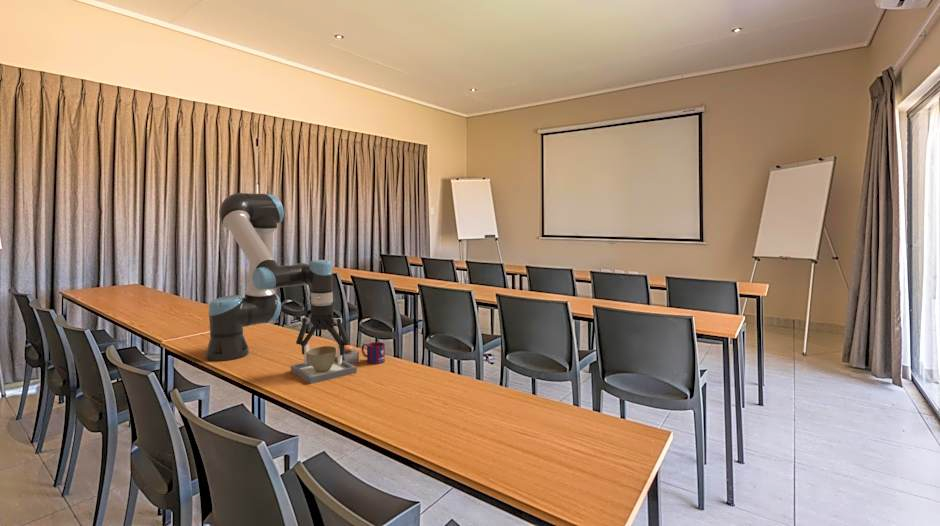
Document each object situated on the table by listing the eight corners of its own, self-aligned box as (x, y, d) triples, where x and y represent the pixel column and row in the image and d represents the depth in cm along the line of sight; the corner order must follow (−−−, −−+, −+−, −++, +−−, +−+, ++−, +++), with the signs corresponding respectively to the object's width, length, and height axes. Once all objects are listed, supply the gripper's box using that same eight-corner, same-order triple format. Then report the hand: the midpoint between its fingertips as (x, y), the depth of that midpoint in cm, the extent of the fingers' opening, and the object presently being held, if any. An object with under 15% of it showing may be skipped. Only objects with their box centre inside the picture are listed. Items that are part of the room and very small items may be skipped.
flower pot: (313, 376, 160) (311, 356, 159) (305, 368, 168) (303, 349, 167) (341, 369, 165) (339, 350, 164) (333, 362, 174) (331, 344, 173)
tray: (291, 371, 167) (290, 365, 167) (334, 361, 179) (334, 356, 179) (311, 383, 155) (310, 377, 155) (356, 372, 166) (356, 366, 166)
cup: (376, 365, 174) (376, 347, 174) (357, 360, 180) (357, 343, 179) (388, 360, 180) (388, 343, 179) (369, 356, 185) (369, 339, 185)
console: (337, 361, 178) (336, 351, 178) (351, 358, 182) (351, 348, 182) (344, 365, 174) (344, 355, 174) (358, 362, 178) (358, 352, 178)
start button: (340, 355, 178) (340, 346, 178) (350, 353, 181) (349, 344, 180) (345, 357, 175) (345, 349, 175) (355, 355, 178) (355, 347, 177)
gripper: (284, 305, 161) (286, 366, 163) (351, 306, 160) (352, 367, 162) (293, 301, 168) (295, 359, 171) (357, 302, 167) (358, 360, 170)
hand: (323, 363), depth 166 cm, fingers open, 11 cm apart
